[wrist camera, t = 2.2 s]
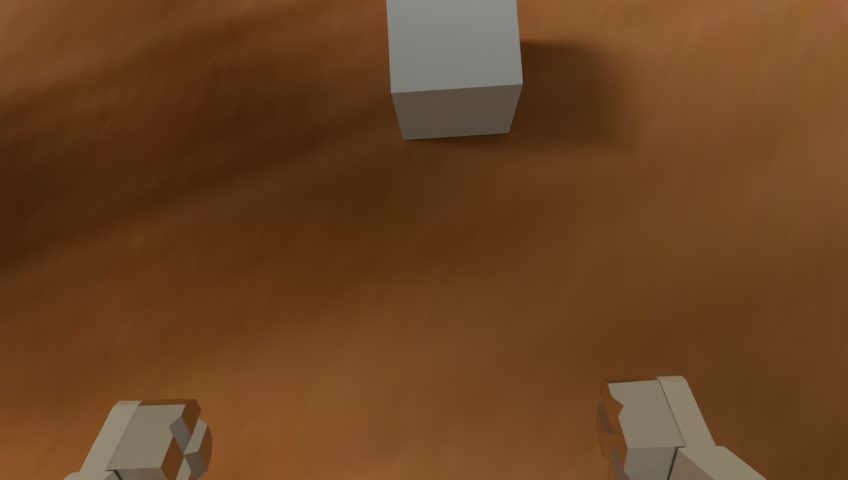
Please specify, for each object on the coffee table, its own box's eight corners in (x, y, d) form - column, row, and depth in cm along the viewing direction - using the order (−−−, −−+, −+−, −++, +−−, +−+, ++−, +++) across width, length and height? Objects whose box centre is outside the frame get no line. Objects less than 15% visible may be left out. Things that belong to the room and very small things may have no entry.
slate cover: (402, 140, 35) (390, 93, 28) (398, 47, 36) (385, -21, 29) (508, 133, 35) (523, 83, 28) (501, 40, 36) (513, -31, 29)
